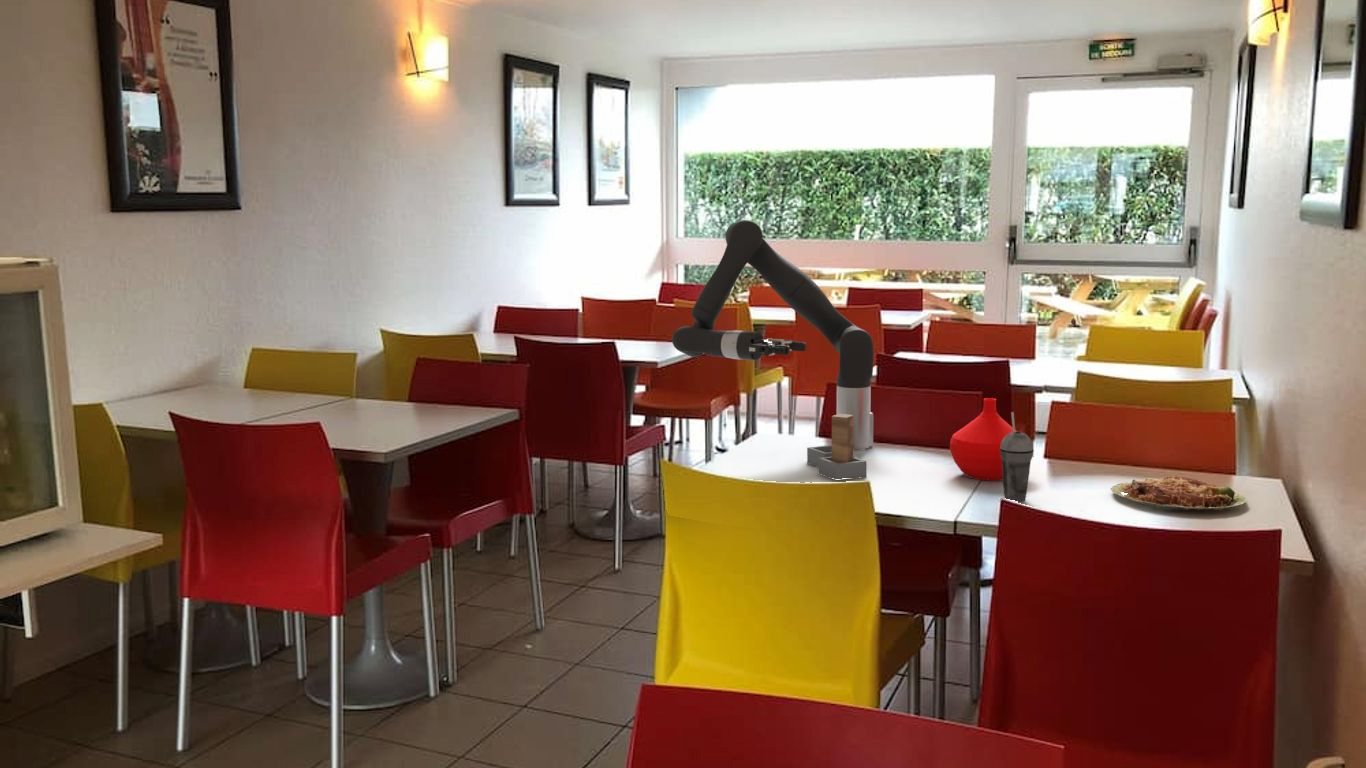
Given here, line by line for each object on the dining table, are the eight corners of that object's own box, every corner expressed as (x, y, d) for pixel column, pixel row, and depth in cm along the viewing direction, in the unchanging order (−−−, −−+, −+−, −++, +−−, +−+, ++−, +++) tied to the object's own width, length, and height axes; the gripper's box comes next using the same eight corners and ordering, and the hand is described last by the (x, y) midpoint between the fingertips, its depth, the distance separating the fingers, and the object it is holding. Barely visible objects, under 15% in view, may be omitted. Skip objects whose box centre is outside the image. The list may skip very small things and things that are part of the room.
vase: (1030, 486, 259) (1033, 406, 257) (950, 483, 263) (952, 404, 260) (1022, 468, 277) (1025, 393, 274) (948, 466, 281) (949, 392, 278)
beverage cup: (1036, 504, 243) (1039, 415, 240) (1002, 504, 244) (1005, 415, 241) (1026, 496, 251) (1029, 409, 248) (994, 496, 251) (997, 409, 248)
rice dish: (1132, 484, 266) (1132, 462, 265) (1259, 496, 248) (1259, 473, 248) (1093, 509, 244) (1093, 485, 243) (1229, 524, 227) (1229, 498, 226)
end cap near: (847, 470, 278) (847, 454, 278) (866, 477, 270) (866, 461, 270) (818, 473, 275) (818, 458, 274) (837, 480, 267) (837, 464, 266)
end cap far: (834, 459, 291) (835, 444, 290) (852, 465, 283) (853, 450, 282) (807, 462, 287) (807, 447, 286) (824, 469, 279) (824, 453, 279)
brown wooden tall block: (838, 468, 275) (839, 413, 273) (853, 470, 273) (853, 415, 271) (831, 472, 272) (831, 416, 270) (846, 473, 270) (846, 417, 268)
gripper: (727, 333, 281) (783, 336, 272) (756, 328, 292) (810, 331, 283) (728, 362, 282) (783, 366, 273) (756, 356, 293) (810, 360, 284)
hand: (797, 348), depth 278 cm, fingers open, 8 cm apart
